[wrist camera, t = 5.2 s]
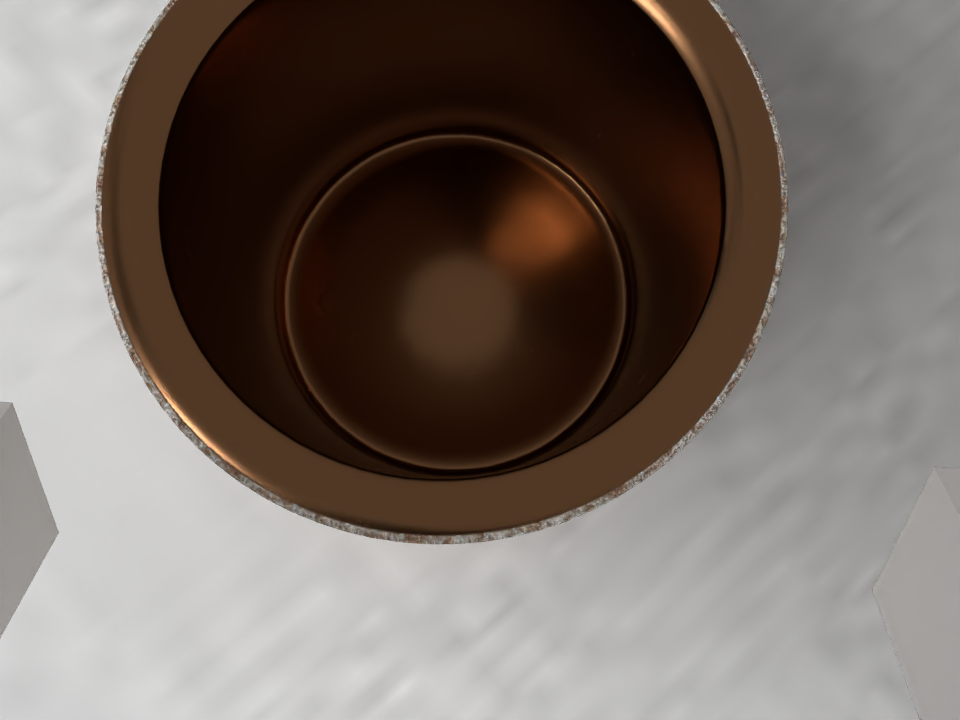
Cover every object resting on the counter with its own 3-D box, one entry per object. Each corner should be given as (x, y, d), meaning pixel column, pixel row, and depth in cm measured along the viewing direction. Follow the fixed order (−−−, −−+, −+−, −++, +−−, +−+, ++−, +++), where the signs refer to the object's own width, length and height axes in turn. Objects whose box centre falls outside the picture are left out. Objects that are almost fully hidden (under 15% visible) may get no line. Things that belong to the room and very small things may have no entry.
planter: (534, 34, 24) (570, -251, 15) (745, 384, 23) (935, 322, 13) (174, 227, 23) (-36, 60, 14) (373, 598, 22) (294, 694, 13)
